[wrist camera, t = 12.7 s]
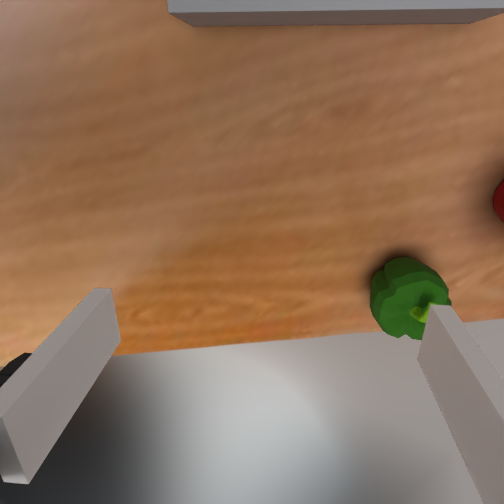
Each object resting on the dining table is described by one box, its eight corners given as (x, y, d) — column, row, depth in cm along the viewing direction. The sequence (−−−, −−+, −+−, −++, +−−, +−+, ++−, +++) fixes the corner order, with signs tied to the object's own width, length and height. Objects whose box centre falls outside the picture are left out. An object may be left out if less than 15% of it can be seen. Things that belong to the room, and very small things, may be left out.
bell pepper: (396, 317, 48) (421, 372, 39) (349, 282, 47) (364, 331, 38) (448, 274, 45) (488, 323, 36) (399, 234, 43) (428, 275, 34)
